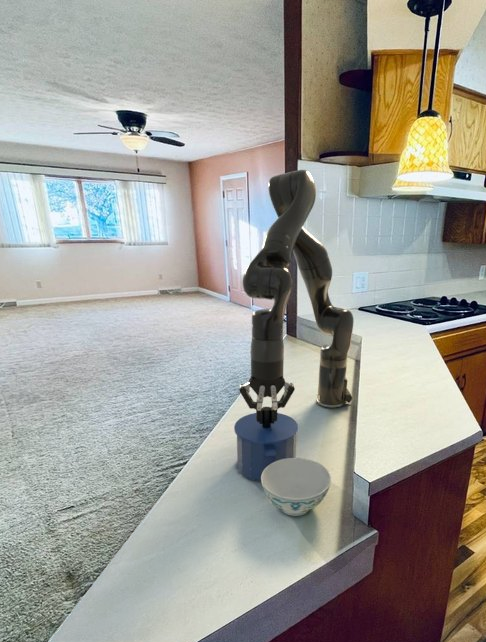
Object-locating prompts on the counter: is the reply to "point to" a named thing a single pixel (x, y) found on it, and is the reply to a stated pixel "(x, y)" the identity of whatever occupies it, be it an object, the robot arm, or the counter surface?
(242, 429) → the lid
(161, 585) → the counter surface
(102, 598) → the counter surface
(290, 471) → the chinaware
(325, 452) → the counter surface
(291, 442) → the pot
